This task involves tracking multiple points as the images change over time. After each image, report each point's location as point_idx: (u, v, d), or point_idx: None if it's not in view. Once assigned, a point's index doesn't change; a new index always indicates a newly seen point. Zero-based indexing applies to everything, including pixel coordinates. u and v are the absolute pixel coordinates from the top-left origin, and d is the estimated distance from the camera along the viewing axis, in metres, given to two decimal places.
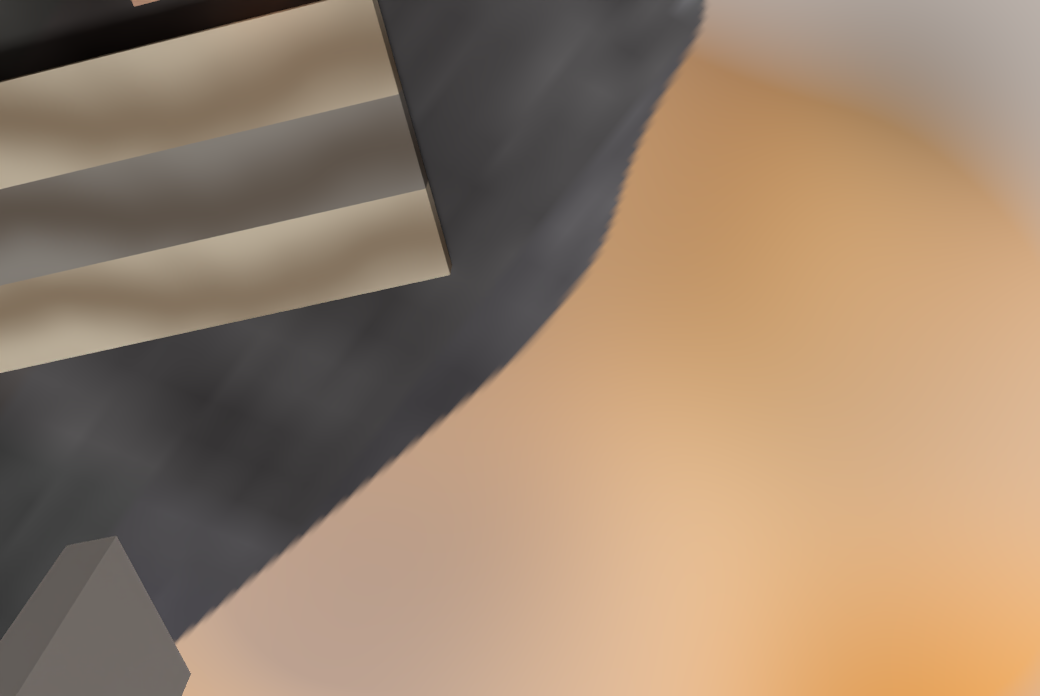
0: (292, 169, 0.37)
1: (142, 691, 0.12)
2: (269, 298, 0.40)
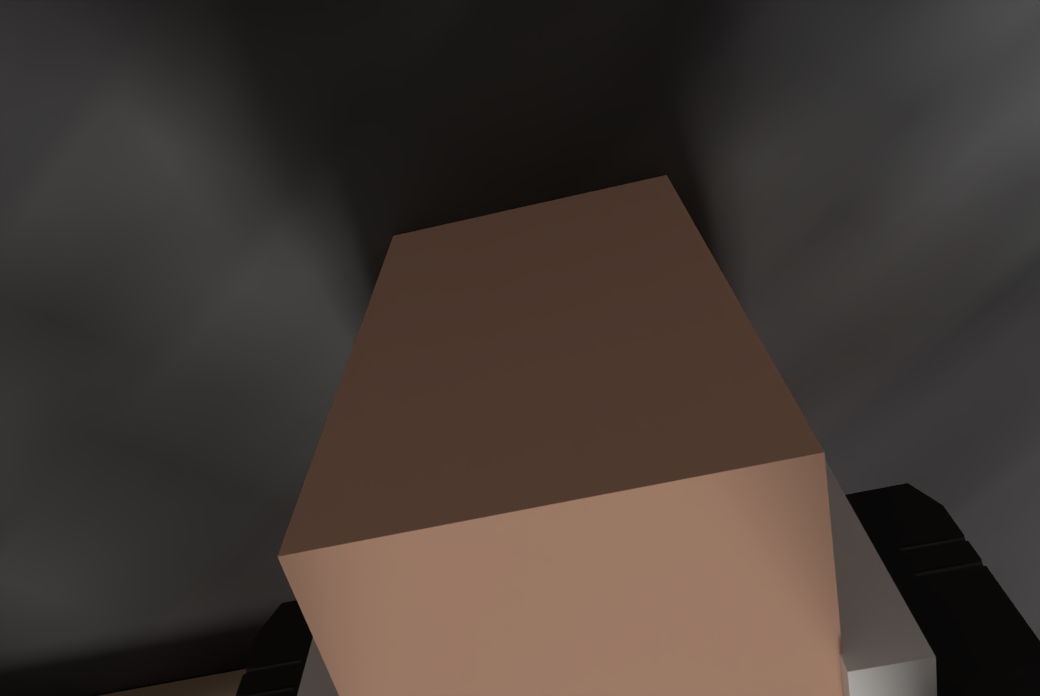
0: None
1: None
2: None
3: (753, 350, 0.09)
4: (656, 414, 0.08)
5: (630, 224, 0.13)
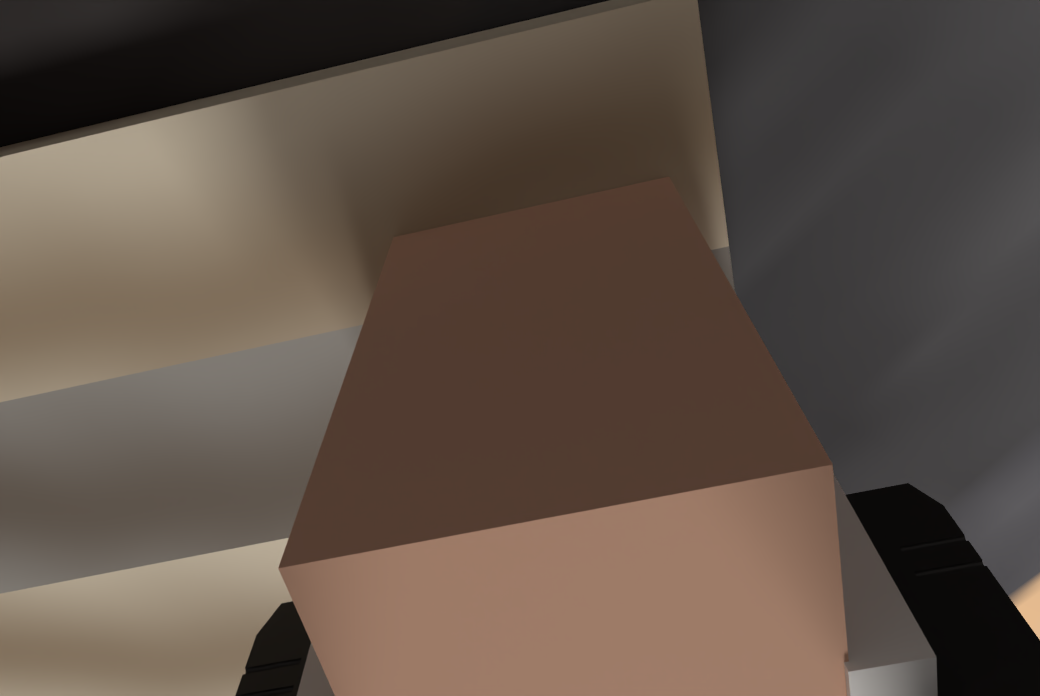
0: None
1: None
2: None
3: (759, 358, 0.09)
4: (660, 424, 0.08)
5: (632, 227, 0.12)
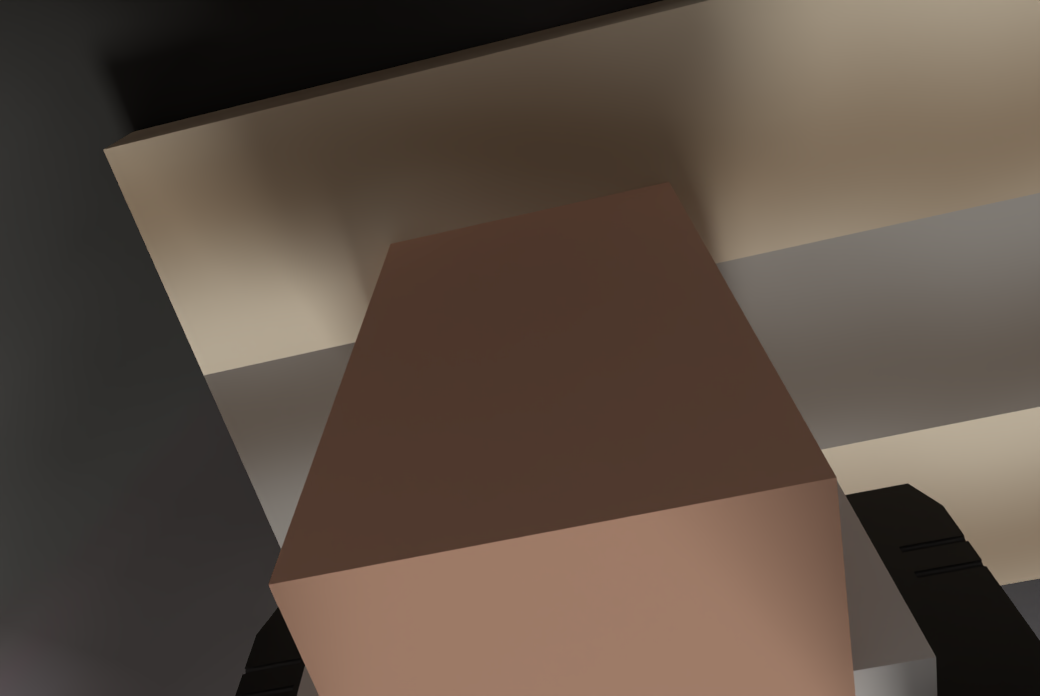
0: None
1: None
2: (1026, 552, 0.17)
3: (760, 367, 0.08)
4: (659, 435, 0.08)
5: (632, 233, 0.12)
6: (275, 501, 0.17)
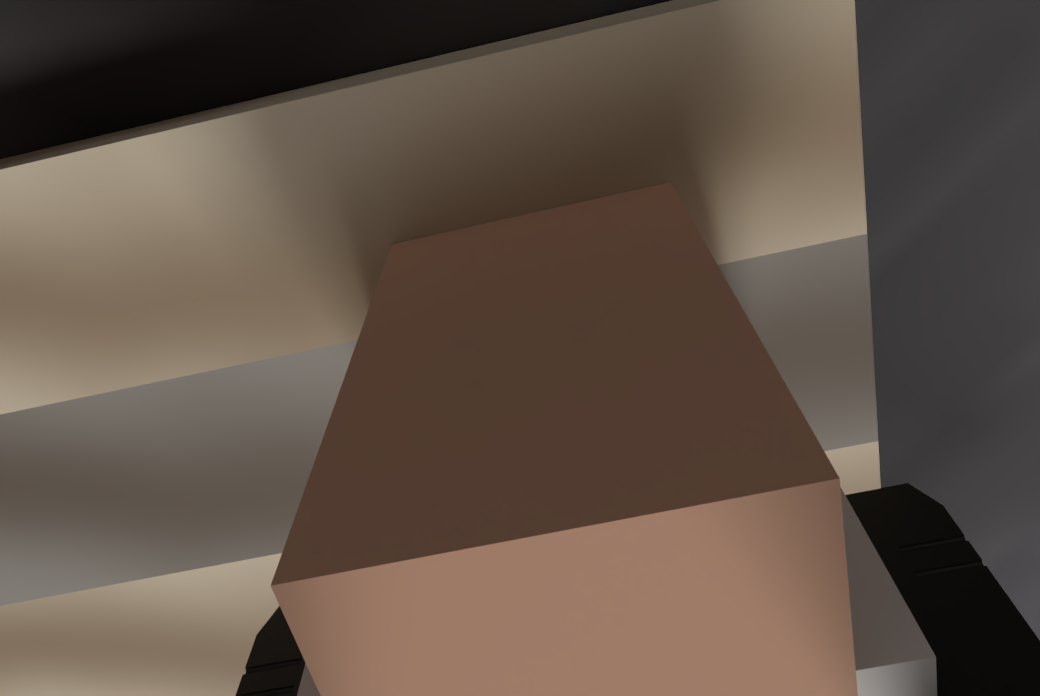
0: None
1: None
2: None
3: (763, 368, 0.08)
4: (662, 436, 0.08)
5: (633, 233, 0.12)
6: None
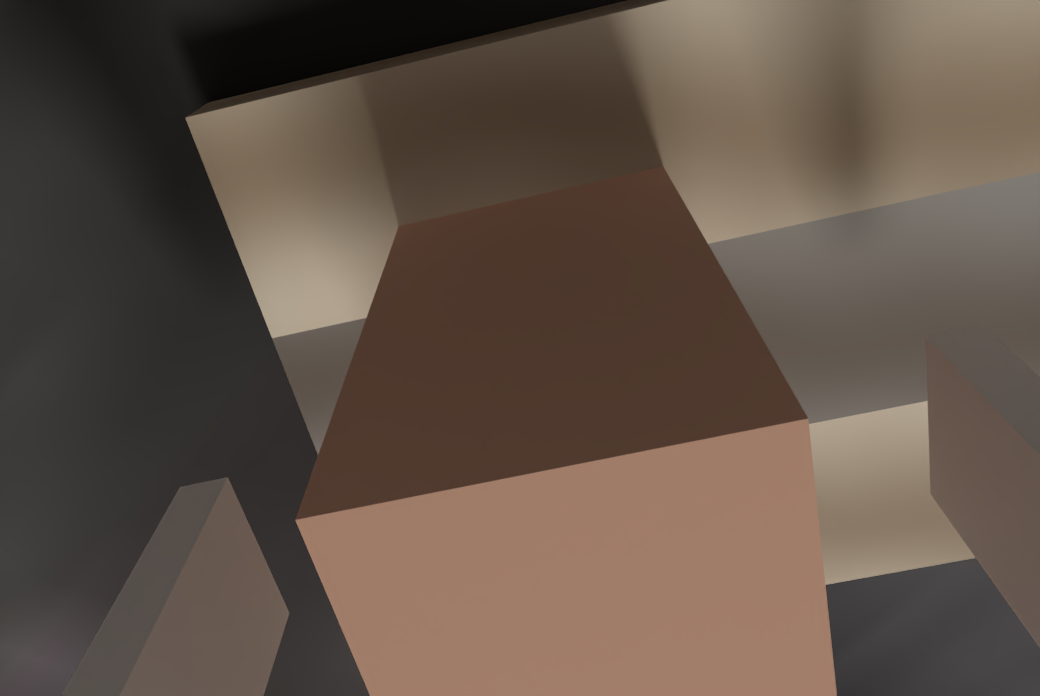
0: None
1: (253, 623, 0.13)
2: None
3: (743, 328, 0.09)
4: (650, 388, 0.08)
5: (627, 213, 0.13)
6: None
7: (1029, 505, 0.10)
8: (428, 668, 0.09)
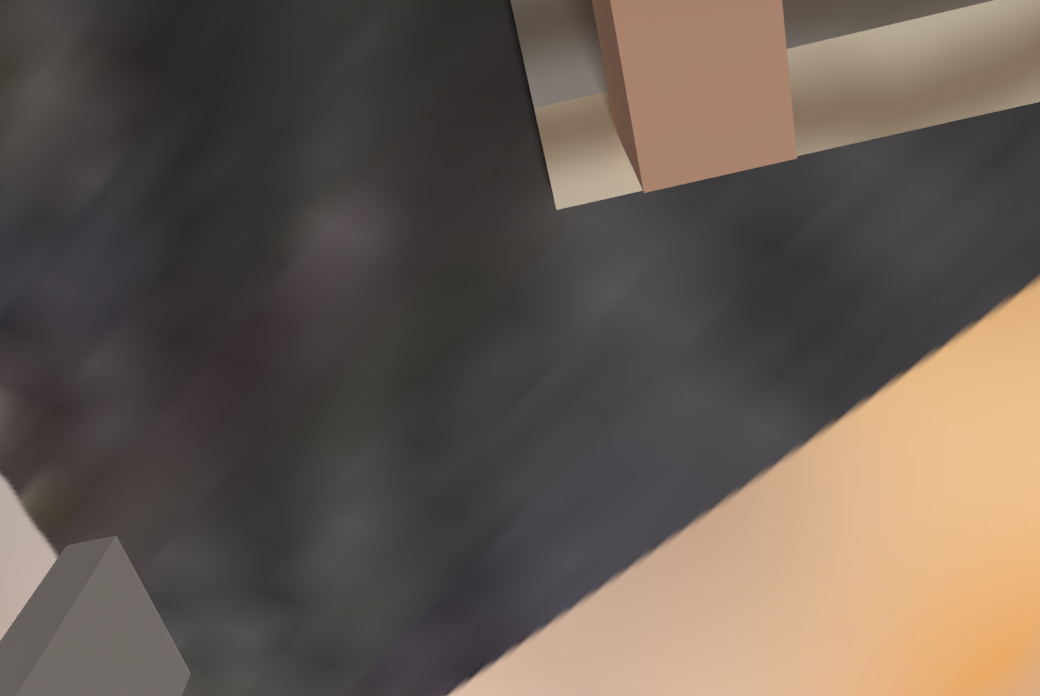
0: None
1: (142, 691, 0.12)
2: (917, 110, 0.33)
3: None
4: None
5: None
6: (534, 73, 0.33)
7: None
8: (636, 12, 0.24)
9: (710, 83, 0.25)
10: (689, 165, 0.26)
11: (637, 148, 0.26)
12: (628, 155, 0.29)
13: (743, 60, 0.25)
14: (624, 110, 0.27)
